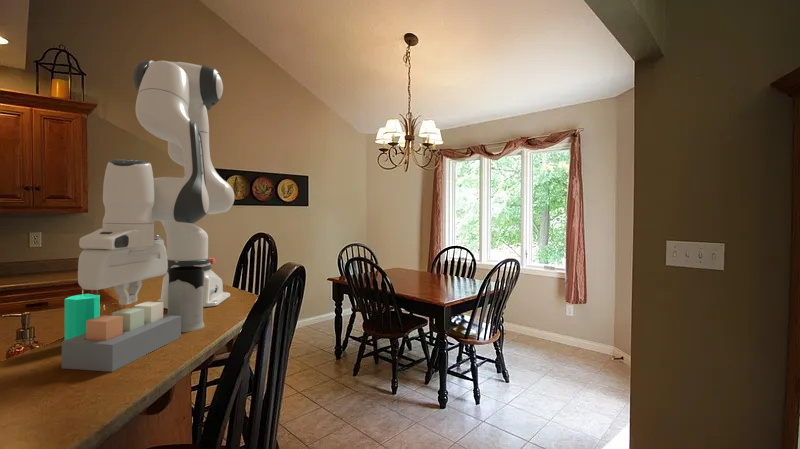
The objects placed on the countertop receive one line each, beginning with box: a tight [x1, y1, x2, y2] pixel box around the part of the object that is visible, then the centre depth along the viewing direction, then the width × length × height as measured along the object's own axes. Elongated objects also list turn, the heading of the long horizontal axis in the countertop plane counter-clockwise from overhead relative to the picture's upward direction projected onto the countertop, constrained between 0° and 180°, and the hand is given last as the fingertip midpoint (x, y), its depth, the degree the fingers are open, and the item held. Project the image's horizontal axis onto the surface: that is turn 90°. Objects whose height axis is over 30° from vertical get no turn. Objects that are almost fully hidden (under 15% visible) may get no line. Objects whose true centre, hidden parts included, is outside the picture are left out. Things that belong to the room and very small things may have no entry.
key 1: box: [86, 314, 123, 341], centre depth 77 cm, size 4×4×6 cm
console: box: [61, 314, 182, 373], centre depth 83 cm, size 20×10×5 cm, turn 176°
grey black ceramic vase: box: [167, 266, 205, 333], centre depth 103 cm, size 9×14×15 cm, turn 3°
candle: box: [64, 289, 101, 341], centre depth 86 cm, size 6×6×12 cm
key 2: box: [133, 301, 164, 323], centre depth 89 cm, size 4×4×6 cm
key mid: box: [111, 307, 145, 331], centre depth 83 cm, size 4×4×6 cm
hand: (128, 303), depth 83 cm, fingers closed
